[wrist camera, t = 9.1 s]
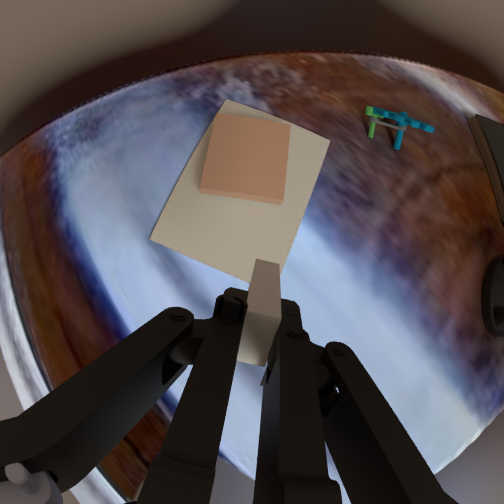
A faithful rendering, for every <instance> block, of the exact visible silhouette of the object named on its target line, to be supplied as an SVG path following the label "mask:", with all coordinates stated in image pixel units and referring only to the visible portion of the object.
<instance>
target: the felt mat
mask: <svg viewBox="0 0 504 504" xmlns="http://www.w3.org/2000/svg"><path fill="white" fill-rule="evenodd" d="M218 113H219V114H228V115H236V116H243V117H250V118H257V119H263V120H269V121H275V122H280V123H285V124H290V125H291V128H290V139H289V150H288V161H287V171H286V181H285V191H284V200H283V202H282V203H281V205H275V204H269V203H263V202H256V201H250V200H243V199H236V198H229V197H222V196H215V195H207V194H201V192H200V183H201V178H202V173H203V169H204V164H205V160H206V155H207V151H208V146H209V142H210V138H211V134H212V130H213V126H214V122H215V118H216V116H215V118H214V119H213V121H212V123H211V124H210V126H209V127H208V129H207V131H206V132H205V134H204V136H203V137H202V139H201V141H200V142H199V144H198V146H197V148H196V149H195V151H194V153H193V155H192V156H191V158H190V160H189V162H188V164H187V165H186V167H185V169H184V171H183V173H182V175H181V176H180V178H179V180H178V182H177V184H176V186H175V188H174V190H173V192H172V194H171V196H170V198H169V199H168V201H167V203H166V205H165V207H164V210H163V212H162V214H161V216H160V218H159V220H158V222H157V224H156V226H155V228H154V230H153V233H152V235H151V237H150V240H152V241H154V242H157V243H159V244H161V245H163V246H165V247H168V248H170V249H172V250H174V251H177V252H179V253H181V254H183V255H185V256H188V257H190V258H192V259H195V260H197V261H199V262H201V263H204V264H206V265H208V266H211V267H213V268H215V269H218V270H220V271H222V272H224V273H227V274H229V275H232V276H234V277H236V278H239V279H241V280H243V281H246V282H248V283H250V281H251V277H252V273H253V269H254V265H255V260H256V259H261V260H265V261H269V262H273V263H277V264H279V267H280V274H281V272H282V269H283V267H284V264H285V262H286V259H287V257H288V254H289V252H290V249H291V246H292V244H293V241H294V239H295V236H296V234H297V231H298V228H299V226H300V223H301V220H302V218H303V215H304V212H305V210H306V207H307V204H308V202H309V199H310V196H311V194H312V191H313V188H314V185H315V183H316V180H317V177H318V174H319V171H320V169H321V166H322V163H323V160H324V157H325V155H326V152H327V149H328V146H329V143H330V140H328V139H326V138H323V137H321V136H319V135H317V134H315V133H313V132H310V131H308V130H306V129H304V128H301V127H299V126H297V125H294V124H292V123H290V122H287V121H285V120H282V119H280V118H277V117H275V116H272V115H270V114H267V113H264V112H262V111H259V110H256V109H254V108H251V107H248V106H245V105H242V104H239V103H236V102H233V101H230V100H227V99H226V101H225V102H224V104H223V105H222V107H221V108H220V110H219V111H218Z"/></svg>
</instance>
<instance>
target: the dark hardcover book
mask: <svg viewBox="0 0 504 504" xmlns="http://www.w3.org/2000/svg"><path fill="white" fill-rule="evenodd" d="M468 123H469V125H470V127H471V130H472V132H473V134H474V137H475V139H476V142H477V144H478V147H479V149H480V152H481V154H482V157H483V159H484V161H485V164H486V167H487V170H488V173H489V176H490V180H491V183H492V186H493V190H494V193H495V197H496V200H497V204H498V208H499V212H500V216H501V220H502V222H504V124H501V123H498V122H496V121H493V120H491V119H488V118H486V117H483V116H481V115H478V114H476V115H475V116H474V117H472V118H471V119H469V120H468ZM502 226H504V225H502Z"/></svg>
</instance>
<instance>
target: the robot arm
mask: <svg viewBox="0 0 504 504" xmlns="http://www.w3.org/2000/svg"><path fill="white" fill-rule="evenodd" d="M482 313H483V319H484V323H485V326H486V328H487V330H488V332H489V333H490V334H491V335H493V336H498V337H504V255H500V256H496V257H495V258H493V259H492V261H491V262H490V264H489V266H488V268H487V271H486V274H485V278H484V282H483V290H482ZM267 360H268V361H267ZM236 361H240V362H245V363H249V364H254V365H259V366H263V367H265V365H266V362H267V368H266V370H265V373H264V376H263V379H262V381H261V384H260V385H261V386H263V397H262V410H261V422H260V434H259V446H258V457H257V467H256V478H255V488H254V498H253V504H342V496H341V489H340V486H339V484H338V482H337V481H335V480H331V479H330V478H329V475H328V467H327V457H326V449H325V442H326V444H327V447H328V449H329V451H330V454H331V456H332V459H333V461H334V463H335V466H336V468H337V471H338V473H339V475H340V478H341V480H342V483H343V485H344V487H345V490H346V492H347V495H348V497H349V499H350V502H351V504H459V503H457V502H456V501H455V500H454V499H453V498H451V497H450V496H449V495H448V494H446V493H445V492H444V491H443V489H442V488H441V486H440V484H439V483H438V481H437V479H436V478H435V476H434V474H433V473H432V471H431V470H430V468H429V466H428V465H427V463H426V461H425V460H424V458H423V457H422V455H421V453H420V452H419V450H418V449H417V447H416V446H415V444H414V442H413V441H412V439H411V438H410V436H409V435H408V433H407V431H406V430H405V428H404V427H403V425H402V424H401V422H400V421H399V419H398V417H397V416H396V414H395V413H394V411H393V410H392V408H391V407H390V405H389V404H388V402H387V401H386V399H385V398H384V396H383V395H382V393H381V392H380V390H379V389H378V387H377V386H376V384H375V383H374V381H373V380H372V378H371V377H370V375H369V374H368V372H367V371H366V369H365V368H364V366H363V365H362V364H361V362H360V361H359V359H358V358H357V356H356V355H355V353H354V352H353V350H352V349H351V348H350V347H348V346H347V345H345V344H344V343H341V342H335V341H334V342H329V343H327V344H326V346H325V348H324V347H321V346H319V345H316V344H314V343H312V342H311V341H310V338H309V335H308V333H307V332H306V331H305V330H304V329H303V327H302V320H301V314H300V308H299V306H298V305H297V303H296V302H295V301H291V300H286V299H282V298H281V291H280V267H279V264H277V263H273V262H269V261H265V260H261V259H256V260H255V265H254V269H253V273H252V277H251V281H250V285H249V289H248V291H245V290H240V289H236V288H232V287H230V288H228V289H226V290H225V292H224V294H223V295H220V296H218V297H217V298H216V303H215V308H214V313H213V317H212V318H209V319H194V315H193V314H192V313H191V312H190V311H189V310H187V309H184V308H181V307H169V308H167V309H165V310H163V311H162V312H161V313H159V314H158V315H157V316H155V317H154V318H152V319H151V320H150V321H148V322H147V323H145V324H144V325H143V326H141V327H140V328H138V329H137V330H136V331H134V332H133V333H132V334H130V335H129V336H127V337H126V338H125V339H123V340H122V341H120V342H119V343H118V344H116V345H115V346H113V347H112V348H111V349H109V350H108V351H107V352H105V353H104V354H102V355H101V356H100V357H98V358H97V359H96V360H94V361H93V362H91V363H90V364H89V365H87V366H86V367H84V368H83V369H82V370H80V371H79V372H78V373H76V374H75V375H73V376H72V377H71V378H69V379H68V380H67V381H65V382H64V383H62V384H61V385H60V386H58V387H57V388H56V389H54V390H53V391H51V392H50V393H49V394H47V395H46V396H45V397H43V398H42V399H41V400H39V401H38V402H36V403H35V404H34V405H32V406H31V407H30V408H28V409H27V410H25V411H24V412H23V413H21V414H20V415H19V416H17V417H14V418H10V419H6V420H2V421H0V504H63V498H62V495H61V493H63V492H65V491H67V490H68V489H70V488H72V487H73V486H75V485H76V484H77V483H79V482H80V481H81V480H82V479H83V478H84V477H86V476H87V475H88V474H89V473H90V471H91V470H92V469H93V468H94V467H95V466H96V465H97V464H98V463H99V462H100V461H101V460H102V459H103V458H104V457H105V456H106V455H107V454H108V453H109V452H110V451H111V450H112V449H113V448H114V447H115V446H116V445H117V444H118V443H119V441H120V440H121V439H122V438H123V437H124V436H125V435H126V434H127V433H128V432H129V431H130V430H131V429H132V428H133V427H134V426H135V424H136V423H137V422H138V421H139V420H140V419H141V418H142V417H143V416H144V415H145V414H146V413H147V411H148V410H149V409H150V408H151V407H152V406H153V405H154V404H155V403H156V402H157V401H158V399H159V398H160V397H161V396H162V395H163V394H164V393H165V392H166V391H167V390H168V388H169V387H170V386H171V385H172V384H173V383H174V382H175V381H176V379H177V378H178V377H179V376H180V375H181V374H182V373H183V372H184V371H185V369H186V368H187V366H188V364H189V365H193V367H192V370H191V372H190V375H189V378H188V380H187V383H186V385H185V388H184V390H183V393H182V396H181V398H180V401H179V403H178V406H177V409H176V411H175V414H174V416H173V419H172V422H171V424H170V427H169V430H168V432H167V435H166V438H165V440H164V443H163V445H162V448H161V450H160V452H159V453H157V454H156V455H155V457H154V458H153V461H152V463H151V465H150V468H149V471H148V473H147V476H146V478H145V481H144V484H143V486H142V489H141V492H140V494H139V497H138V500H137V501H134V502H128V503H124V504H209V502H210V497H211V492H212V487H213V482H214V477H215V466H216V460H217V456H218V451H219V446H220V441H221V436H222V431H223V426H224V421H225V416H226V411H227V406H228V401H229V396H230V391H231V386H232V381H233V376H234V371H235V366H236ZM263 383H264V384H263ZM336 388H338V390H339V393H338V392H337V390H336ZM324 439H325V440H324Z"/></svg>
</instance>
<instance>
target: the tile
mask: <svg viewBox="0 0 504 504" xmlns="http://www.w3.org/2000/svg"><path fill="white" fill-rule="evenodd" d="M290 128H291V125H290V124H285V123H280V122H275V121H269V120H263V119H257V118H250V117H243V116H236V115H228V114H219V113H217V114H216V118H215V122H214V126H213V130H212V134H211V138H210V142H209V146H208V151H207V155H206V160H205V164H204V169H203V173H202V178H201V183H200V192H201V194H207V195H215V196H222V197H229V198H236V199H243V200H250V201H256V202H263V203H269V204H275V205H281V203H282V202H283V200H284V191H285V181H286V171H287V161H288V150H289V139H290Z"/></svg>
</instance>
